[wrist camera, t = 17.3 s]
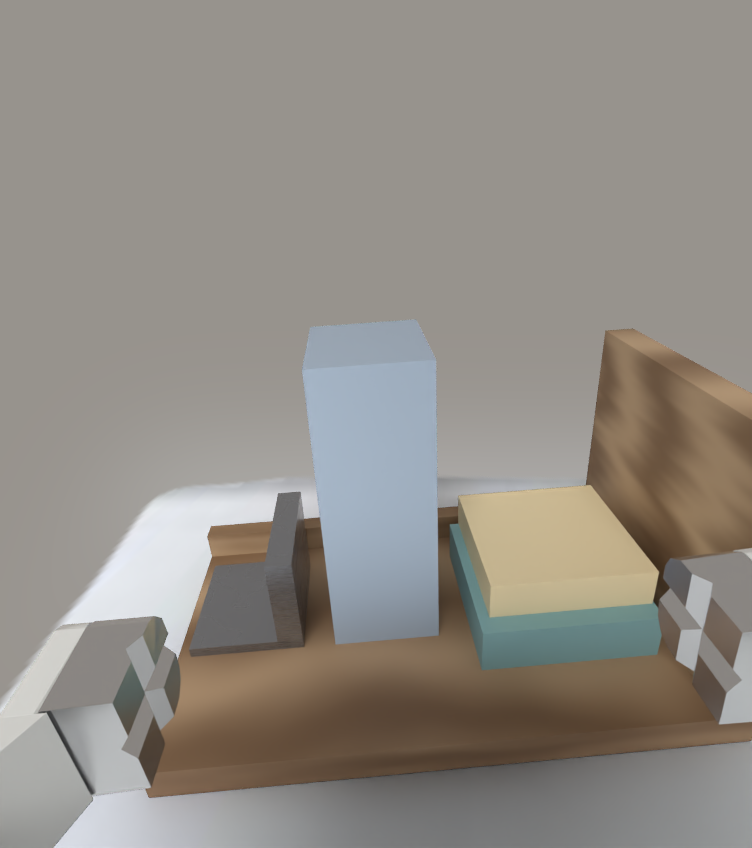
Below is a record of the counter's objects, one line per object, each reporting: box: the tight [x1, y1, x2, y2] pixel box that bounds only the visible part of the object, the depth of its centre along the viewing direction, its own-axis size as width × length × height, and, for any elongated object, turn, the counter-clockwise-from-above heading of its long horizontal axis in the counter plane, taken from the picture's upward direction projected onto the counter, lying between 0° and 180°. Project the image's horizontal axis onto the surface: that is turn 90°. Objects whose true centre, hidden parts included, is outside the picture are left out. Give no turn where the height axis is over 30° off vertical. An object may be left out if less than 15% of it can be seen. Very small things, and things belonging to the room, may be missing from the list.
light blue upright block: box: [302, 320, 439, 644], centre depth 26 cm, size 5×6×14 cm
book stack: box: [450, 485, 662, 670], centre depth 27 cm, size 8×8×4 cm
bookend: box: [189, 492, 310, 657], centre depth 28 cm, size 6×5×5 cm
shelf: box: [146, 329, 752, 798], centre depth 25 cm, size 14×24×14 cm, turn 93°
